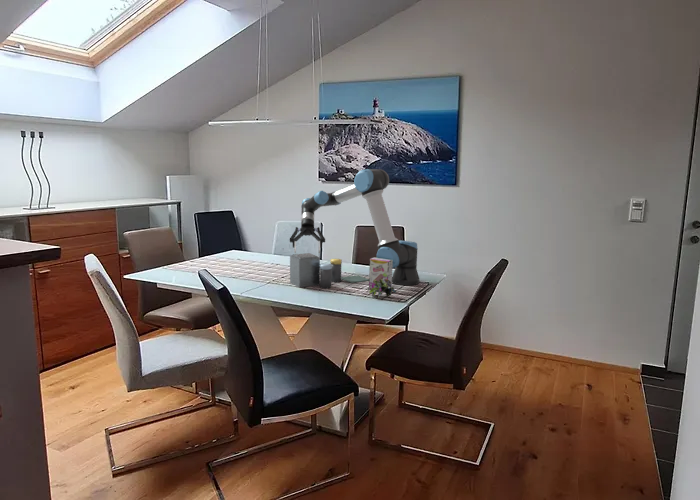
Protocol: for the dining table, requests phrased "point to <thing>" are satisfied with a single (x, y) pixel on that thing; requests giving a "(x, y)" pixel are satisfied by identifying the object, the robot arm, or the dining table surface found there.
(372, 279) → the candy bar box
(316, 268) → the box
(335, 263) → the cylinder
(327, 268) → the blue
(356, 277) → the mat
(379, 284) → the passion flower
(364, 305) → the dining table surface
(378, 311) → the dining table surface
